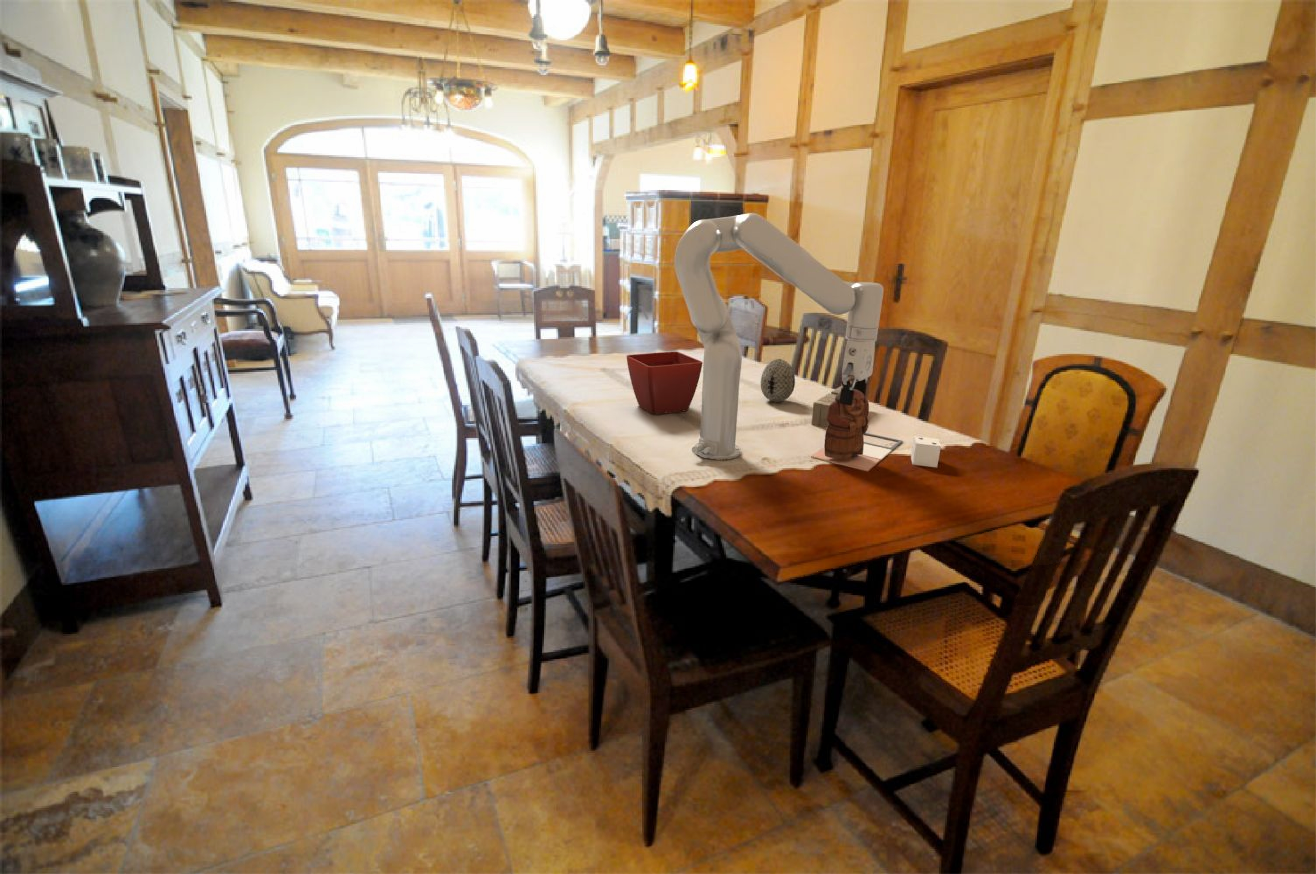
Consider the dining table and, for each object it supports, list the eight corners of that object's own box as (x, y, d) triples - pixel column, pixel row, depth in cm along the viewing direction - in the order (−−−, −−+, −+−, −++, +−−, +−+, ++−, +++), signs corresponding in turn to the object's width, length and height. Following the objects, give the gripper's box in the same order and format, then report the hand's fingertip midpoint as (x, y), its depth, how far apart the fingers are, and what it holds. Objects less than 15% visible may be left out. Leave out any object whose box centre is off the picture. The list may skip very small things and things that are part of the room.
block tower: (834, 433, 193) (864, 408, 215) (837, 406, 190) (867, 385, 212) (809, 427, 197) (841, 404, 219) (812, 402, 194) (844, 381, 216)
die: (936, 467, 165) (941, 445, 163) (912, 464, 166) (916, 443, 164) (934, 459, 170) (938, 438, 168) (910, 457, 172) (914, 436, 170)
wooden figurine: (838, 462, 162) (847, 394, 156) (819, 455, 167) (828, 389, 161) (868, 455, 169) (878, 389, 163) (849, 448, 174) (858, 384, 168)
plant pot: (624, 403, 214) (625, 354, 208) (675, 398, 221) (677, 350, 216) (647, 419, 197) (648, 366, 192) (701, 413, 205) (704, 362, 199)
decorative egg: (797, 400, 222) (802, 358, 217) (785, 408, 213) (789, 364, 208) (766, 395, 228) (770, 354, 223) (753, 402, 219) (757, 359, 214)
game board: (867, 471, 161) (867, 470, 160) (810, 457, 169) (811, 455, 169) (902, 442, 183) (902, 440, 183) (850, 430, 192) (851, 429, 191)
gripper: (864, 339, 149) (854, 410, 154) (887, 331, 162) (877, 396, 168) (833, 335, 153) (825, 405, 159) (859, 327, 166) (850, 391, 172)
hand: (852, 400), depth 163 cm, fingers closed on wooden figurine, 8 cm apart
